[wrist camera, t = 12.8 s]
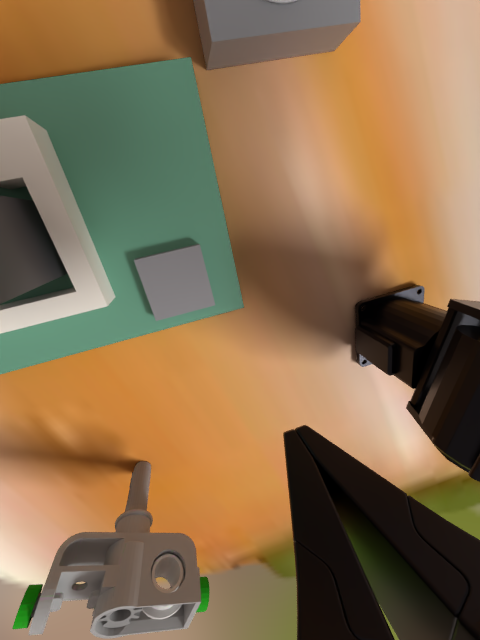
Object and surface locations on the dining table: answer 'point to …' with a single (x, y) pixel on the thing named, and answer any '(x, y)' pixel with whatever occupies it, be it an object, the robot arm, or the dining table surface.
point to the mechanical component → (123, 575)
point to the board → (114, 208)
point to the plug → (25, 249)
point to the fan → (271, 28)
